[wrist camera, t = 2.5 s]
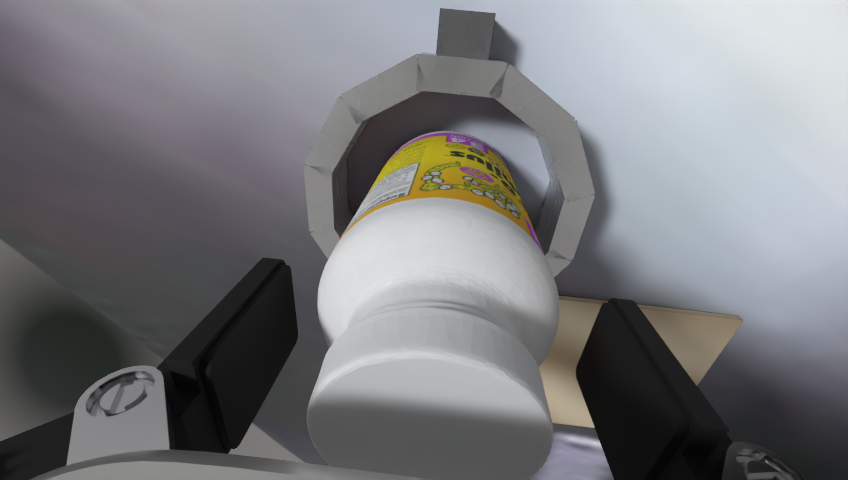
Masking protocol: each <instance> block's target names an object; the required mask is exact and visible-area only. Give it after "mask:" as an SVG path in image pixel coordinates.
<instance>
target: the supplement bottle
mask: <svg viewBox="0 0 848 480" xmlns="http://www.w3.org/2000/svg"><path fill="white" fill-rule="evenodd" d="M317 306H318V316H319V322H320V326H321V329H322V333H323V336H324V338H325V341H326V343H327V345H328V347H329V350H328V352H327V353H326V356H325V358H324V361H323V365H322V368H321V371H320V374H319V377H318V380H317V382H316V385H315V387H314V390H313V392H312V395H311V398H310V401H309V405H308V409H307V426H308V433H309V435H310V438H311V441H312V443H313V445H314V446H315V448H316V450H317V451H318V452H319V454H320V455H321V456H322V458H323V459H324V460H325V461H326V462H327V463H328V464H329V465H330V466H332V467H339V468H347V469H355V470H363V471H371V472H378V473H386V474H393V475H401V476H408V477H416V478H423V479H431V480H528V479H530V478H531V477H533V476H534V475H535V474H536V473H537V472H538V471H539V469H540V468H541V467H542V466H543V464H544V463H545V461H546V460H547V457H548V455H549V453H550V451H551V447H552V442H553V426H552V419H551V415H550V411H549V407H548V403H547V399H546V395H545V391H544V386H543V381H542V377H541V374H540V370H539V366H540V365H541V364H542V362H543V361H544V360H545V358H546V356H547V355H548V353H549V351H550V349H551V346H552V344H553V342H554V339H555V336H556V333H557V329H558V322H559V296H558V291H557V286H556V283H555V280H554V277H553V274H552V272H551V269H550V267H549V264H548V262H547V260H546V257H545V255H544V253H543V250H542V248H541V246H540V244H539V241H538V239H537V236H536V234H535V231H534V229H533V227H532V224H531V221H530V219H529V217H528V214H527V212H526V209H525V207H524V205H523V203H522V200H521V197H520V195H519V193H518V191H517V188H516V186H515V183H514V181H513V179H512V177H511V174H510V172H509V170H508V168H507V167H506V165H505V163H504V161H503V160H502V158H501V157H500V156H499V155H498V154H497V152H496V151H495V150H494V149H492V148H491V147H490V146H489V145H487V144H486V143H485V142H483V141H481V140H480V139H478V138H476V137H474V136H471V135H468V134H465V133H461V132H455V131H436V132H431V133H427V134H423V135H421V136H418V137H416V138H414V139H412V140H410V141H409V142H407V143H406V144H404V145H403V146H402V147H401V148H399V149H398V150H397V151H396V152H395V153H394V154H393V155H392V156H391V158H390V159H389V160H388V161H387V163H386V164H385V166H384V167H383V169H382V171H381V172H380V174H379V176H378V177H377V179H376V181H375V182H374V184H373V185H372V187H371V189H370V191H369V192H368V194H367V196H366V197H365V199H364V201H363V202H362V204H361V205H360V207H359V209H358V211H357V212H356V214H355V216H354V217H353V219H352V220H351V222H350V224H349V225H348V227H347V228H346V230H345V232H344V233H343V235H342V236H341V238H340V240H339V241H338V243H337V245H336V247H335V248H334V250H333V252H332V254H331V256H330V257H329V259H328V261H327V263H326V266H325V268H324V270H323V273H322V277H321V280H320V284H319V289H318V305H317Z"/></svg>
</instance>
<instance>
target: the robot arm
mask: <svg viewBox="0 0 848 480" xmlns="http://www.w3.org/2000/svg"><path fill="white" fill-rule="evenodd" d="M297 337H298V328H297V320H296V311H295V302H294V293H293V284H292V275H291V268H290V266H289V265H286V264H285V262H284V261H283V260H280V259H271V258H262V259H261V260H260V261H259V262H258V263H257V264H256V265H255V266H254V267H253V268H252V269H251V270H250V271H249V272H248V273H247V274H246V275H245V276H244V278H243V279H242V280H241V281H240V282H239V283H238V284H237V285H236V286H235V287H234V288H233V289H232V290H231V291H230V292H229V293H228V294H227V295H226V296H225V297H224V298H223V299H222V300H221V301H220V302H219V304H218V305H217V306H216V307H215V308H214V309H213V310H212V311H211V312H210V313H209V314H208V315H207V316H206V317H205V318H204V319H203V320H202V321H201V322H200V323H199V324H198V325H197V326H196V327H195V328H194V330H193V331H192V332H191V333H190V334H189V335H188V336H187V337H186V338H185V339H184V340H183V341H182V342H181V343H180V344H179V345H178V346H177V347H176V348H175V349H174V350H173V351H172V352H171V353H170V355H169V356H168V357H167V358H166V359H165V360H164V361H163V362H162V363H161V364H160V365H159V366H158V367H157V368H155V367H150V366H134V367H130V368H125V369H122V370H119V371H117V372H114V373H112V374H109V375H108V376H106V377H104V378H102V379H101V380H99V381H97V382H96V383H95V384H93V385H92V386H91V387H90V388H89V389H87V390H86V392H85V393H84V394H83V395H82V396H81V398H80V399H79V400H78V403H77V405H76V408H75V412H73V413H70V414H68V415H65V416H63V417H60V418H58V419H55V420H53V421H51V422H48V423H45V424H43V425H41V426H38V427H35V428H33V429H30V430H28V431H25V432H23V433H20V434H18V435H15V436H13V437H10V438H8V439H5V440H3V441H0V480H431V479H423V478H416V477H408V476H401V475H393V474H386V473H378V472H371V471H363V470H355V469H347V468H339V467H332V466H324V465H316V464H308V463H300V462H293V461H285V460H277V459H269V458H259V457H250V456H241V455H232V454H228V453H229V451H230V450H231V449H235V448H237V447H238V446H239V444H240V443H241V441H242V439H243V437H244V436H245V434H246V432H247V430H248V428H249V426H250V425H251V423H252V421H253V420H254V418H255V416H256V414H257V412H258V411H259V409H260V407H261V405H262V403H263V402H264V400H265V398H266V396H267V394H268V393H269V391H270V389H271V387H272V385H273V384H274V382H275V380H276V378H277V376H278V375H279V373H280V371H281V369H282V367H283V366H284V364H285V362H286V360H287V359H288V357H289V355H290V353H291V351H292V350H293V348H294V346H295V344H296V341H297ZM576 379H577V382H578V384H579V387H580V390H581V392H582V395H583V398H584V400H585V403H586V406H587V408H588V411H589V414H590V416H591V419H592V422H593V424H594V427H595V430H596V432H597V435H598V438H599V440H600V443H601V446H602V448H603V451H604V453H605V456H606V459H607V461H608V464H609V467H610V469H611V472H612V475H613V477H614V480H806V478H805V477H804V476H803V475H802V474H801V473H800V472H799V471H798V470H797V469H795V468H794V467H793V466H792V465H791V464H789V463H788V462H787V461H786V460H784V459H783V458H781V457H779V456H778V455H776V454H775V453H773V452H771V451H769V450H767V449H765V448H763V447H761V446H759V445H755V444H752V443H749V442H736V443H732V441H731V440H730V438H729V437H728V436H727V432H728V431H729V429H728V428H727V427H726V425H725V424H724V422H723V421H722V420H721V418H720V417H719V416H718V414H717V413H716V412H715V410H714V409H713V407H712V406H711V405H710V403H709V402H708V401H707V399H706V398H705V397H704V395H703V394H702V392H701V391H700V390H699V388H698V387H697V386H696V384H695V383H694V382H693V380H692V379H691V377H690V376H689V375H688V373H687V372H686V371H685V369H684V368H683V367H682V365H681V364H680V362H679V361H678V360H677V358H676V357H675V356H674V354H673V353H672V352H671V350H670V349H669V347H668V346H667V345H666V343H665V342H664V341H663V339H662V338H661V337H660V335H659V334H658V332H657V331H656V330H655V328H654V327H653V326H652V324H651V323H650V322H649V320H648V319H647V317H646V316H645V315H644V313H643V312H642V311H641V309H640V308H639V307H638V305H637V304H636V303H635V302H634V301H632V300H624V299H615V298H612V299H610V300H609V301H608V303H607V302H605V303H603V304H602V306H601V308H600V310H599V313H598V315H597V317H596V320H595V322H594V325H593V327H592V330H591V332H590V335H589V337H588V340H587V342H586V344H585V347H584V349H583V352H582V354H581V357H580V359H579V362H578V364H577V367H576Z"/></svg>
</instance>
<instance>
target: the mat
mask: <svg viewBox="0 0 848 480" xmlns="http://www.w3.org/2000/svg"><path fill="white" fill-rule="evenodd" d="M558 296H559V295H558ZM605 302H607V303H608V301H603V300H595V299H586V298H577V297H568V296H559V322H558V329H557V333H556V336H555V339H554V342H553V344H552V346H551V349H550V351H549V353H548V355H547V356H546V358H545V360H544V361H543V362H542V364H541V365H540V366H539V370H540V374H541V377H542V381H543V386H544V391H545V395H546V399H547V403H548V407H549V411H550V415H551V419H552V423H559V424H567V425H576V426H584V427H592V428H595V427H594V424H593V422H592V419H591V416H590V414H589V411H588V408H587V406H586V403H585V400H584V398H583V395H582V392H581V390H580V387H579V384H578V382H577V379H576V367H577V364H578V362H579V359H580V357H581V354H582V352H583V349H584V347H585V344H586V342H587V340H588V337H589V335H590V332H591V330H592V327H593V325H594V322H595V320H596V317H597V315H598V313H599V310H600V308H601V306H602V304H603V303H605ZM637 305H638V307H639V308H640V309H641V311H642V312H643V313H644V315H645V316H646V317H647V319H648V320H649V322H650V323H651V324H652V326H653V327H654V328H655V330H656V331H657V332H658V334H659V335H660V337H661V338H662V339H663V341H664V342H665V343H666V345H667V346H668V347H669V349H670V350H671V352H672V353H673V354H674V356H675V357H676V358H677V360H678V361H679V362H680V364H681V365H682V367H683V368H684V369H685V371H686V372H687V373H688V375H689V376H690V377H691V379H692V380H693V382H694V383H695V384H696V386H698V384H699V383H700V381H701V380H702V378H703V377H704V376H705V374H706V373H707V371H708V370H709V369H710V367H711V366H712V364H713V363H714V361H715V360H716V359H717V357H718V356H719V354H720V353H721V352H722V350H723V349H724V347H725V346H726V345H727V343H728V342H729V340H730V339H731V337H732V336H733V335H734V333H735V332H736V330H737V329H738V328H739V326H740V325H741V323H742V322H743V320H742V319H741V318H740V317H739V316H735V315H727V314H718V313H709V312H700V311H691V310H683V309H674V308H665V307H656V306H647V305H639V304H637Z"/></svg>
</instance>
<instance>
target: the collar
mask: <svg viewBox="0 0 848 480" xmlns="http://www.w3.org/2000/svg"><path fill="white" fill-rule="evenodd" d="M495 14H496V13H486V12H475V11H464V10H454V9H443V8H440V16H439V28H438V39H437V50H436V54H430V53H421V54H416V55H414V56H412V57H410V58H408V59H406V60H405V61H403V62H401V63H399V64H397V65H395V66H393V67H392V68H390V69H388V70H386V71H384V72H382V73H380V74H378V75H377V76H375V77H373V78H371V79H369V80H367V81H365V82H364V83H362V84H360V85H358V86H356V87H354V88H352V89H351V90H349V91H347V92H345V93H343V94H341V96H340V97H338V99H337V101H336V103H335V105H334V107H333V109H332V110H331V112H330V114H329V116H328V118H327V120H326V122H325V124H324V126H323V128H322V129H321V131H320V133H319V135H318V137H317V139H316V141H315V143H314V145H313V147H312V148H311V150H310V152H309V154H308V156H307V158H306V160H305V162H304V163H305V164H304V176H305V187H306V198H307V210H308V221H309V231H312V232H311V233H310V234H311V235H312V236H313V238H314V239H315V241H316V242H317V244H318V245H319V247H320V248H321V250H322V251H323V252H324V254H325V255H326V257H327V258H328V259H329V257H330V256H331V254H332V252H333V250H334V248H335V247H336V245H337V243H338V241H339V240H340V238H341V236H342V235H343V233H344V232H345V230H346V228H347V227H348V225H349V224H350V222H351V220H352V219H353V217H354V216H353V214H352V212H351V211H350V209H349V208H348V174H347V157H348V155H349V154H350V152H351V150H352V148H353V147H354V145H355V143H356V142H357V140H358V138H359V137H360V135H361V133H362V132H363V130H364V128H365V126H366V125H367V123H368V121H369V120H370V118H371V117H372V116H374V115H376V114H378V113H380V112H382V111H384V110H386V109H388V108H390V107H392V106H394V105H396V104H398V103H400V102H402V101H404V100H406V99H408V98H410V97H412V96H414V95H415V94H417V93H419V92H421V91H429V92H440V93H450V94H460V95H470V96H480V97H490V98H495V99H496V100H497V101H498V102H500V103H501V104H502V105H503V106H505V107H506V108H507V109H508V110H510V111H511V112H512V113H513V114H515V115H516V116H517V117H518V118H520V119H521V120H522V121H523V122H525V123H526V124H527V125H528V126H530V127H531V128H532V129H533V130H535V131H536V134H537V138H538V141H539V144H540V147H541V150H542V153H543V157H544V160H545V163H546V166H547V169H548V173H549V176H550V183H549V186H548V190H547V194H546V197H545V201H544V205H543V208H542V212H541V216H540V219H539V223H538V227H537V228H536V229H535V230H534V231H535V234H536V236H537V239H538V241H539V244H540V246H541V248H542V250H543V253H544V255H545V257H546V260H547V262H548V264H549V267H550V269H551V272H552V274H553V277H555V276H556V275H557V274H559V273H560V272H561V271H562V270H563V269H564V268H565V267H567V266H568V265H569V264H570V263H571V260H573V258H574V255H575V252H576V250H577V247H578V244H579V241H580V238H581V235H582V232H583V229H584V227H585V224H586V221H587V218H588V215H589V212H590V209H591V207H592V204H593V201H594V198H595V195H594V194H595V190H594V186H593V183H592V179H591V175H590V171H589V167H588V163H587V159H586V156H585V152H584V148H583V144H582V140H581V136H580V132H579V128H578V125H577V121H576V120H574V119H575V118H574V117H573V116H572V115H570V114H569V113H568V112H567V111H566V110H564V109H563V108H562V107H561V106H560V105H559V104H557V103H556V102H555V101H554V100H553V99H551V98H550V97H549V96H548V95H547V94H545V93H544V92H543V91H542V90H541V89H539V88H538V87H537V86H536V85H535V84H533V83H532V82H531V81H530V80H529V79H528V78H526V77H525V76H524V75H523V74H522V73H520V72H519V71H518V70H517V69H516V68H514V67H513V66H512V65H511V64H509V63H506V62H503V61H501V60H493V59H489V53H490V47H491V40H492V34H493V27H494V21H495Z"/></svg>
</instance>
